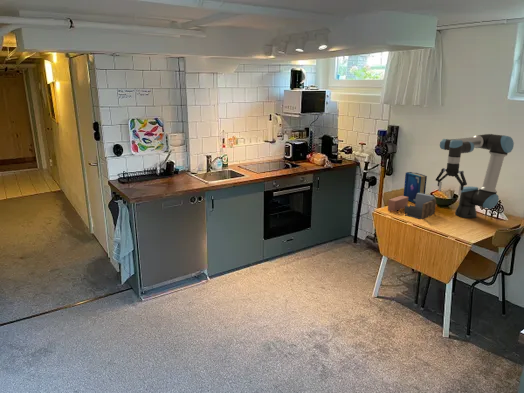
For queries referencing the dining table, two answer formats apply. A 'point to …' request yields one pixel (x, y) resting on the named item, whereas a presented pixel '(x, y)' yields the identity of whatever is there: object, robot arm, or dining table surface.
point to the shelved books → (423, 199)
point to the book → (414, 185)
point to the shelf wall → (428, 209)
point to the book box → (397, 203)
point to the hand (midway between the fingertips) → (449, 192)
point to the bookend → (413, 211)
